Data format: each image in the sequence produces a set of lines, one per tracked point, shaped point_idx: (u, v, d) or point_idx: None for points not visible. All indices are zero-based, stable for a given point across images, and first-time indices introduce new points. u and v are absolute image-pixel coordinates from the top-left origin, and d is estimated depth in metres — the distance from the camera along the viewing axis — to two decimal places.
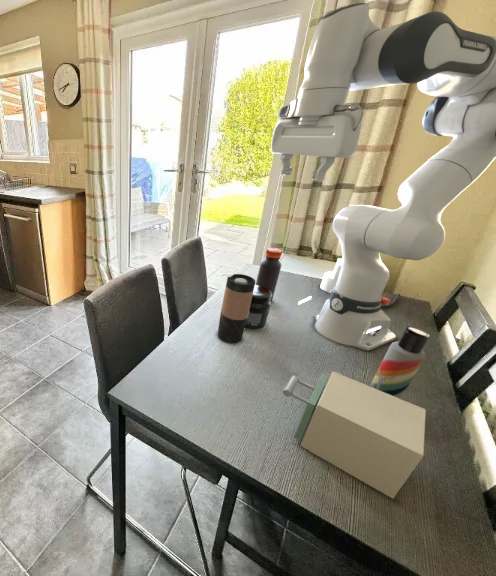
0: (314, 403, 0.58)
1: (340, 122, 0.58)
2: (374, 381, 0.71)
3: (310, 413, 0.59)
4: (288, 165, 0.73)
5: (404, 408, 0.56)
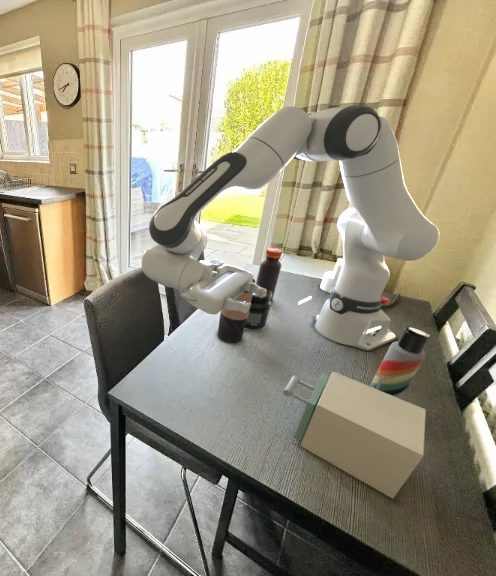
0: (314, 403, 0.58)
1: None
2: (374, 381, 0.71)
3: (310, 413, 0.59)
4: (256, 289, 0.69)
5: (404, 408, 0.56)
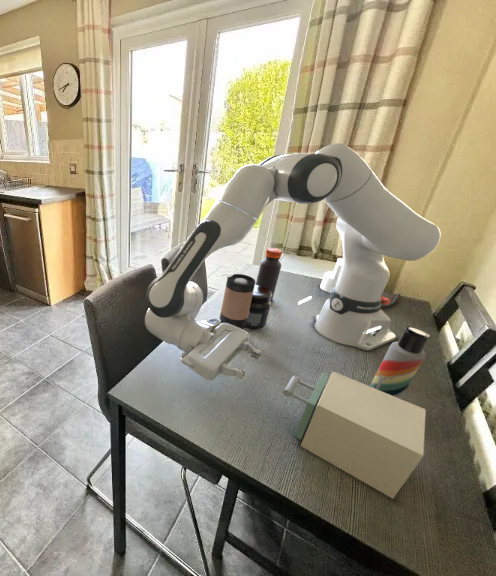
0: (314, 403, 0.58)
1: None
2: (374, 381, 0.71)
3: (310, 413, 0.59)
4: (251, 350, 0.75)
5: (404, 408, 0.56)
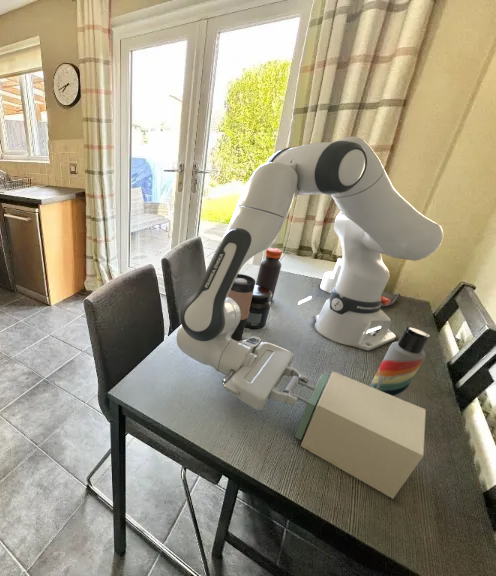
0: (314, 403, 0.58)
1: None
2: (374, 381, 0.71)
3: (310, 413, 0.59)
4: (297, 376, 0.68)
5: (404, 408, 0.56)
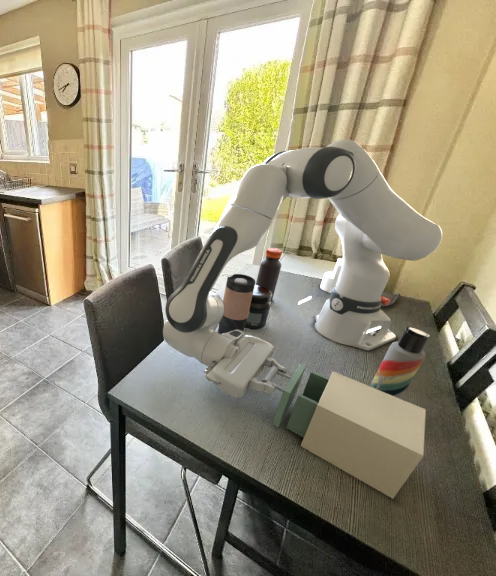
0: (289, 391, 0.61)
1: None
2: (374, 381, 0.71)
3: (286, 401, 0.62)
4: (276, 366, 0.71)
5: (404, 408, 0.56)
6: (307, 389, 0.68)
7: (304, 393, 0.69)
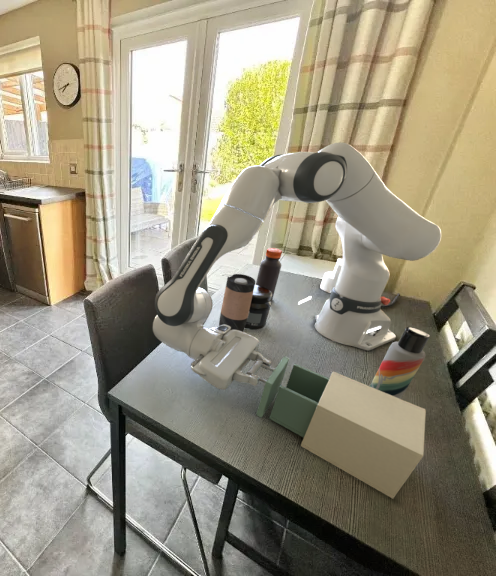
0: (271, 382, 0.63)
1: None
2: (374, 381, 0.71)
3: (268, 392, 0.64)
4: (261, 360, 0.73)
5: (404, 408, 0.56)
6: (290, 381, 0.70)
7: (288, 385, 0.71)
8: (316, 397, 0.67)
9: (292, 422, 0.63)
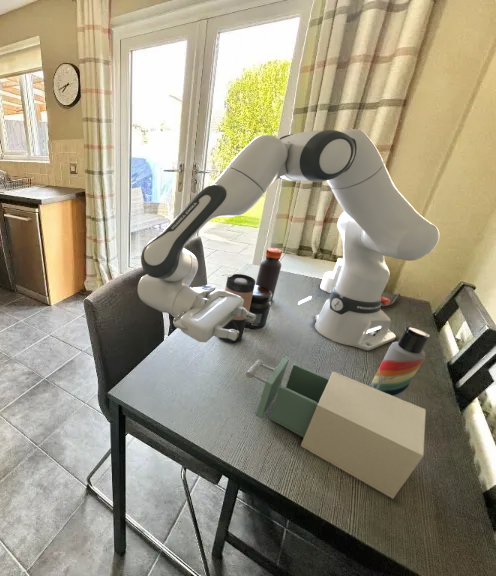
0: (271, 382, 0.63)
1: None
2: (374, 381, 0.71)
3: (268, 392, 0.64)
4: (246, 314, 0.73)
5: (404, 408, 0.56)
6: (290, 381, 0.70)
7: (287, 385, 0.71)
8: (316, 397, 0.67)
9: (292, 422, 0.63)
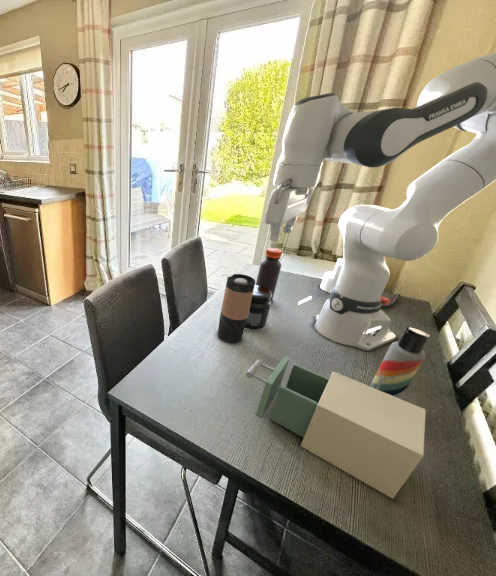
0: (271, 382, 0.63)
1: None
2: (374, 381, 0.71)
3: (268, 392, 0.64)
4: (290, 224, 0.78)
5: (404, 408, 0.56)
6: (290, 381, 0.70)
7: (287, 385, 0.71)
8: (316, 397, 0.67)
9: (292, 422, 0.63)
